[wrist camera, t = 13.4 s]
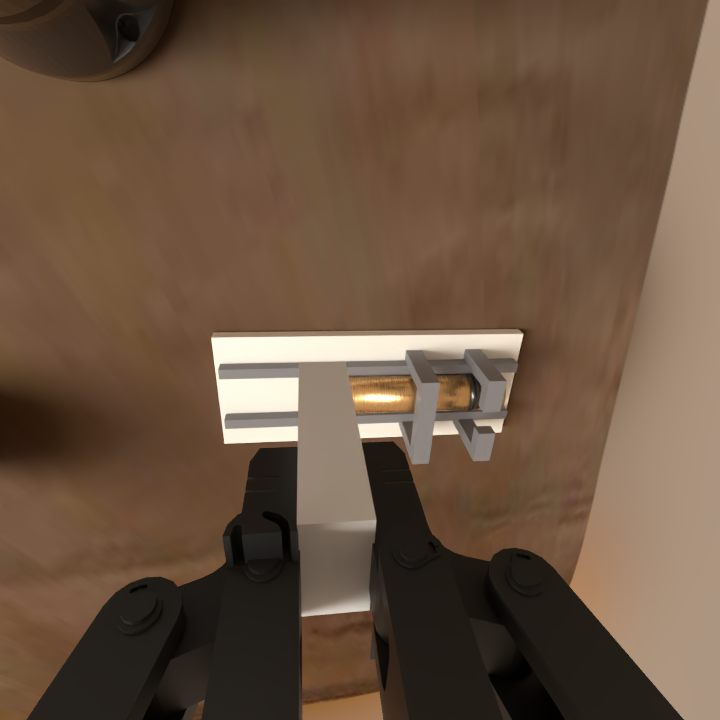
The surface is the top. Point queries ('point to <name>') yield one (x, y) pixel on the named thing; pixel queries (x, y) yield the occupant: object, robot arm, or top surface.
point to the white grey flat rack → (366, 358)
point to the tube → (413, 393)
